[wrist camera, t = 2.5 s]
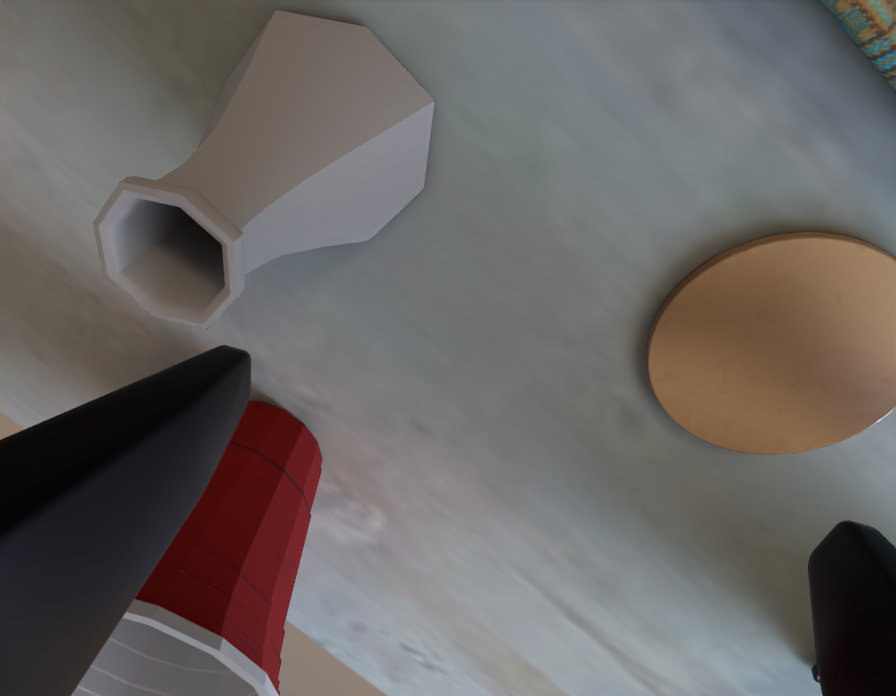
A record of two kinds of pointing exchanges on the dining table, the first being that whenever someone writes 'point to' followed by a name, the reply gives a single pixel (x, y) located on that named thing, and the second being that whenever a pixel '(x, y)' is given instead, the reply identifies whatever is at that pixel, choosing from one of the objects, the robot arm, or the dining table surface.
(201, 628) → the plastic cup
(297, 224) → the flask
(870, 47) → the dish towel
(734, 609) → the dining table surface
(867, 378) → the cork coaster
